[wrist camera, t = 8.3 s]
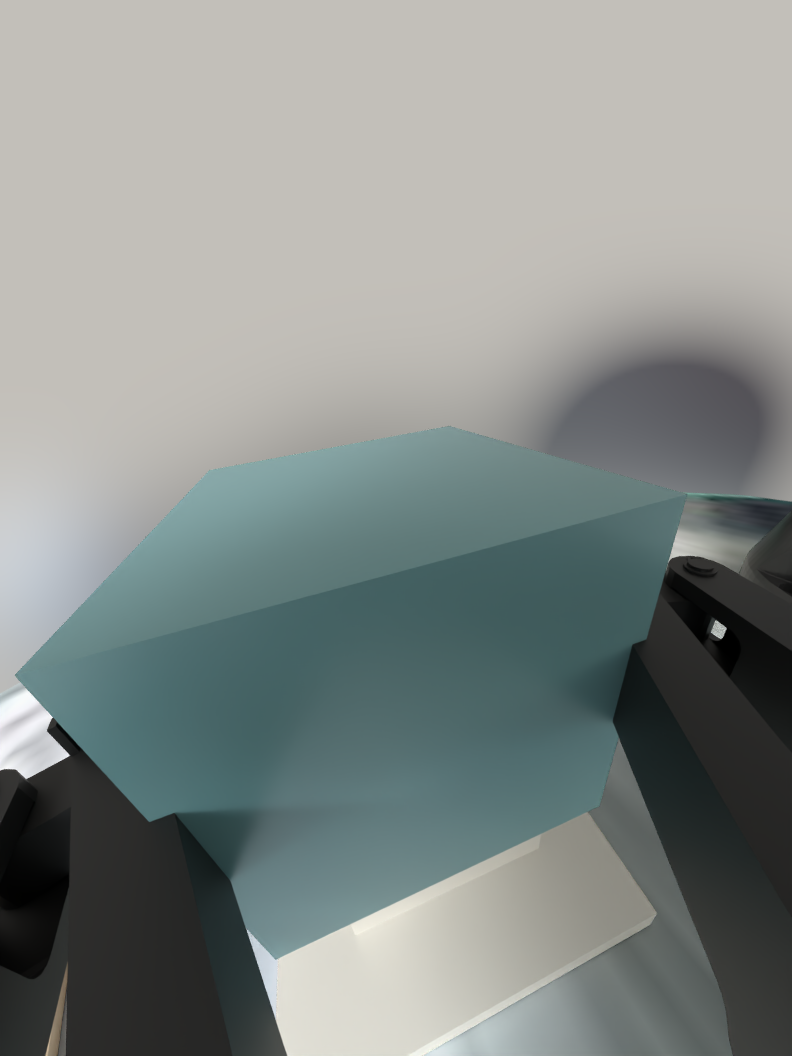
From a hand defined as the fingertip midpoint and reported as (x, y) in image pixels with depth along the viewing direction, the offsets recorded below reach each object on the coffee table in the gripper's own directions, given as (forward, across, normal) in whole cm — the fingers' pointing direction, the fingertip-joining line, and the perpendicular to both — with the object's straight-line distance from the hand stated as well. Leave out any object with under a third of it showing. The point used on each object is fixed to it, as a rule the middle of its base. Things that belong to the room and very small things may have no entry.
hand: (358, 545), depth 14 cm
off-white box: (-4, 0, -11) cm, 12 cm away
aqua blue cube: (-5, 0, -5) cm, 7 cm away
